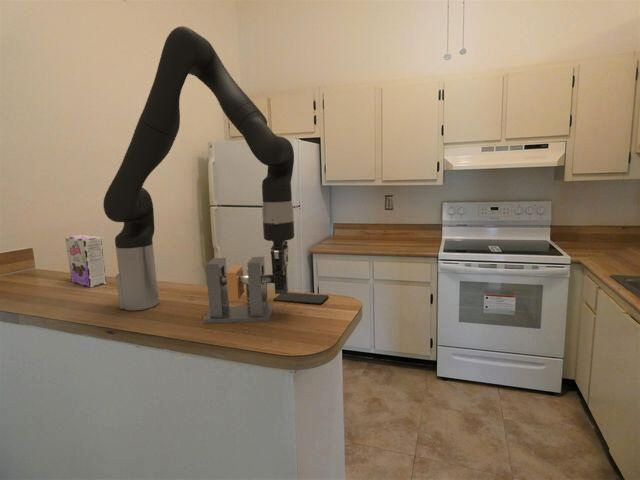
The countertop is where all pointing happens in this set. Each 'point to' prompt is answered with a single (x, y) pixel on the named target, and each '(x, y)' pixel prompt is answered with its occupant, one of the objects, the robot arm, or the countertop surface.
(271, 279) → the shaft
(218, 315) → the bearing bracket
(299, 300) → the smartphone
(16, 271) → the countertop surface
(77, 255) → the candy box
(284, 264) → the robot arm
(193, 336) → the countertop surface
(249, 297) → the pill bottle
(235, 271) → the spacer
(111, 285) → the countertop surface
